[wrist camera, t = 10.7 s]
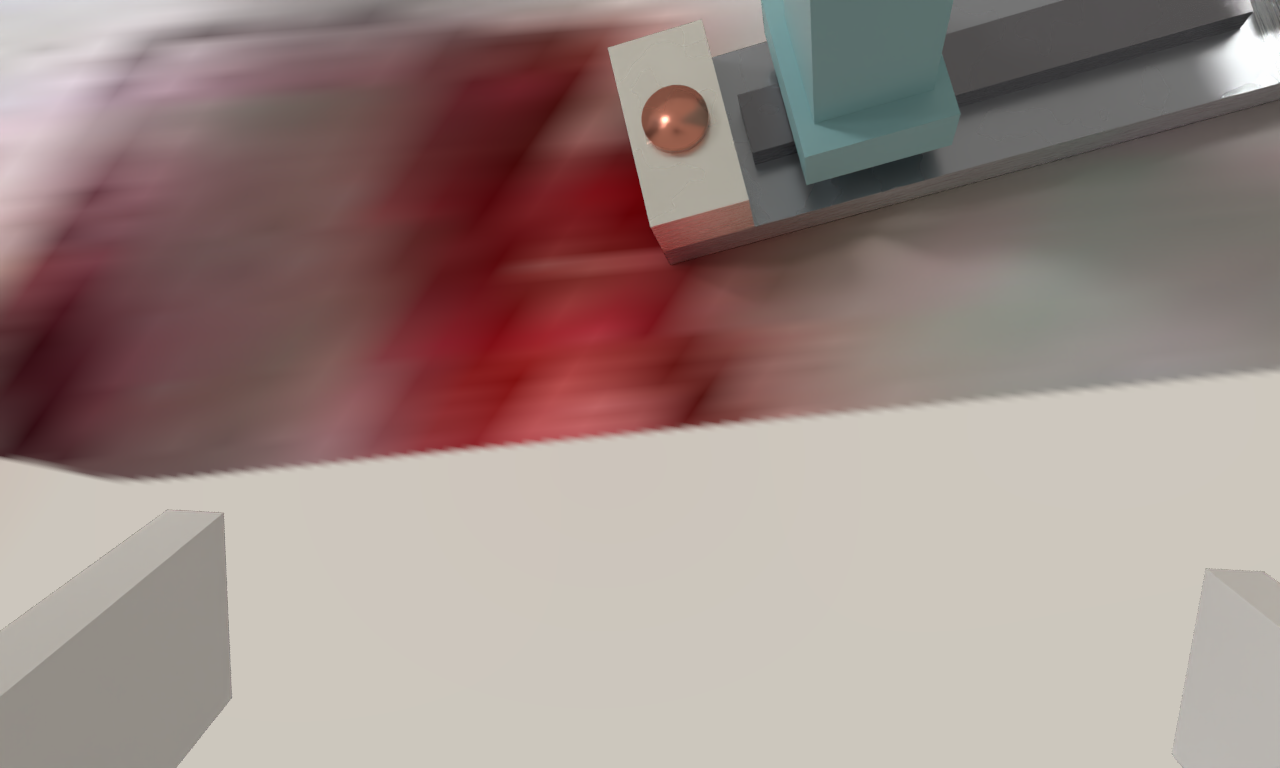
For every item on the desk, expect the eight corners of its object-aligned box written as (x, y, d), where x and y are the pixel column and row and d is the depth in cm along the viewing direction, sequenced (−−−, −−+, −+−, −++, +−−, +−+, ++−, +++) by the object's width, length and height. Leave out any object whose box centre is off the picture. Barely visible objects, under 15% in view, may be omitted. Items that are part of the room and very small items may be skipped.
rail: (670, 265, 35) (648, 222, 31) (631, 103, 36) (604, 41, 32) (1362, 76, 32) (1444, 1, 28) (1294, -92, 33) (1362, -189, 29)
